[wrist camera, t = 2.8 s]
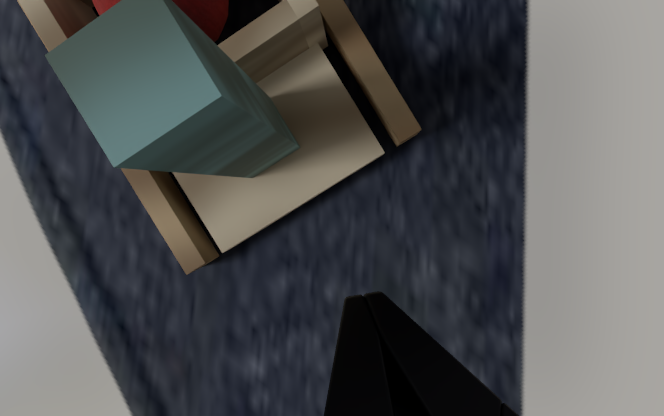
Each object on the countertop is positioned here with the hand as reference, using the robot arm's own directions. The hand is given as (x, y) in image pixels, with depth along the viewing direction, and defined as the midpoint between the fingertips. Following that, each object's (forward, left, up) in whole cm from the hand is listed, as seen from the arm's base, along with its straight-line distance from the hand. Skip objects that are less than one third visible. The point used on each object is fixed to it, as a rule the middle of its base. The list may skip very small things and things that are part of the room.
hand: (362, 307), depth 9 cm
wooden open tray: (+7, +10, -12) cm, 17 cm away
